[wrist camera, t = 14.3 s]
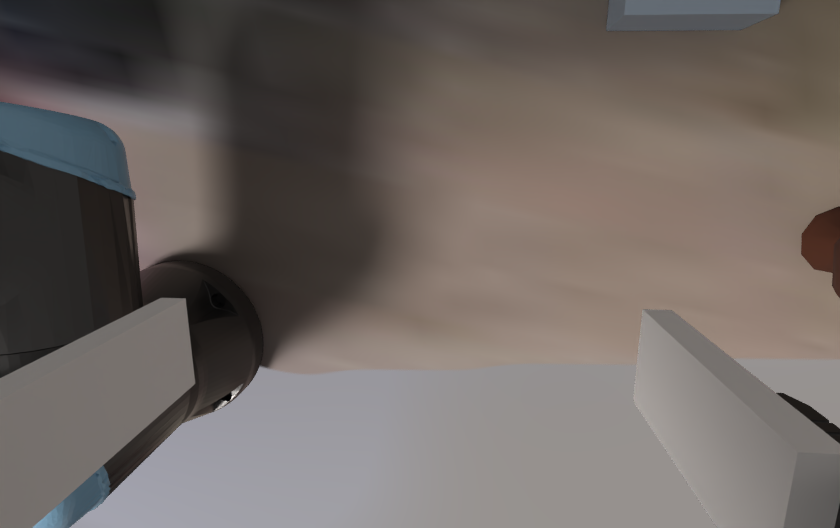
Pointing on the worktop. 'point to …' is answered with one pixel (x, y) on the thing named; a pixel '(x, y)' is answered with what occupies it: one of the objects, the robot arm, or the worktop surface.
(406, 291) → the worktop surface
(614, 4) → the grey slate tile
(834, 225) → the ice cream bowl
